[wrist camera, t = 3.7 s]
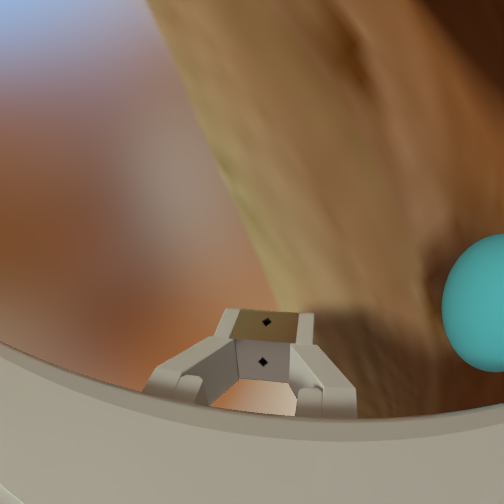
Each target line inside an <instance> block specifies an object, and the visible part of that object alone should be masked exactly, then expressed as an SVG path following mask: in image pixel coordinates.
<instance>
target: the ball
mask: <svg viewBox="0 0 504 504" xmlns="http://www.w3.org/2000/svg"><path fill="white" fill-rule="evenodd" d="M442 317H443V324H444V328H445V331H446V334H447V337H448V339H449V341H450V343H451V345H452V347H453V348H454V350H455V351H456V353H457V354H458V355H459V356H460V357H461V358H462V359H463V360H464V361H466V362H467V363H468V364H470V365H471V366H473V367H475V368H477V369H480V370H483V371H488V372H504V234H497V235H492V236H488V237H486V238H483V239H481V240H479V241H477V242H476V243H474V244H473V245H471V246H470V247H469V248H468V249H467V250H466V251H464V252H463V254H462V255H461V256H460V257H459V258H458V260H457V261H456V262H455V264H454V266H453V267H452V269H451V271H450V274H449V276H448V278H447V281H446V284H445V288H444V292H443V298H442Z"/></svg>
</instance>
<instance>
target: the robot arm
mask: <svg viewBox="0 0 504 504" xmlns="http://www.w3.org/2000/svg"><path fill="white" fill-rule="evenodd" d="M314 319H315V314H314V313H310V312H299V313H293V312H275V311H265V310H253V309H241V308H230V307H228V308H226V309H225V311H224V313H223V315H222V318H221V320H220V322H219V325H218V327H217V329H216V331H215V334H214V336H213V337H211V336H209V337H207V338H205V339H204V340H202V341H200V342H199V343H197V344H195V345H194V346H192V347H190V348H189V349H187V350H185V351H184V352H182V353H180V354H178V355H177V356H175V357H173V358H171V359H170V360H168V361H166V362H164V363H163V364H161V365H159V366H157V367H156V368H155V370H154V371H153V373H152V375H151V377H150V378H149V380H148V382H147V384H146V386H145V387H144V389H143V391H142V392H140V391H137V390H133V389H129V388H125V387H122V386H119V385H115V384H112V383H108V382H105V381H102V380H99V379H95V378H92V377H89V376H86V375H83V374H80V373H77V372H74V371H72V370H69V369H66V368H63V367H60V366H58V365H55V364H53V363H50V362H47V361H45V360H42V359H40V358H37V357H35V356H33V355H30V354H28V353H26V352H23V351H21V350H19V349H16V348H14V347H12V346H10V345H8V344H6V343H4V342H2V341H0V504H504V403H500V404H496V405H491V406H485V407H480V408H474V409H468V410H462V411H455V412H447V413H439V414H429V415H419V416H406V417H389V418H357V400H356V388H355V387H354V386H353V385H352V384H351V383H350V381H349V380H348V379H347V378H346V377H345V376H344V375H343V373H342V372H341V371H340V370H339V369H338V368H337V367H336V365H335V364H334V363H333V362H332V361H331V360H330V359H329V357H328V356H327V355H326V354H325V353H324V352H323V351H322V349H321V348H320V347H319V346H318V345H313V341H314ZM239 378H242V379H253V380H265V381H275V382H283V383H289V385H290V387H291V389H292V391H293V393H294V394H295V396H296V398H297V406H296V413H295V416H284V415H273V414H263V413H254V412H246V411H238V410H230V409H224V408H218V407H212V406H210V405H211V404H212V403H213V402H214V401H215V400H216V399H218V398H219V397H220V396H221V395H222V394H223V393H224V392H225V391H227V390H228V389H229V388H230V387H231V386H232V385H233V384H234V383H235V382H237V381H238V380H239Z"/></svg>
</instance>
